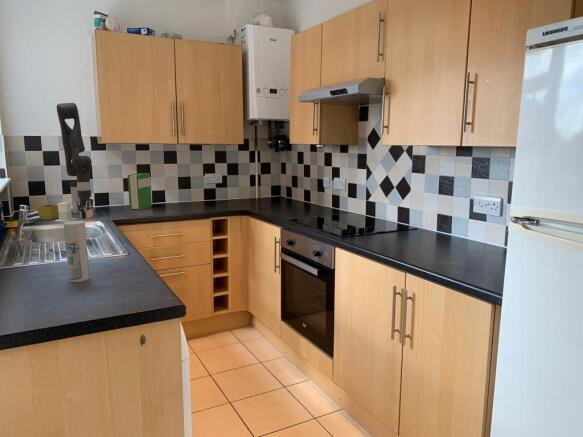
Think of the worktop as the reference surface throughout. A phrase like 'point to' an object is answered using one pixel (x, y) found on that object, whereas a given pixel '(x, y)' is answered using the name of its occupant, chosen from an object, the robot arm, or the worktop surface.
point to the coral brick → (87, 213)
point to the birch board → (66, 220)
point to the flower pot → (48, 212)
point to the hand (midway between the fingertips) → (86, 216)
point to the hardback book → (139, 191)
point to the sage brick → (65, 215)
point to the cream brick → (64, 207)
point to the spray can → (76, 251)
